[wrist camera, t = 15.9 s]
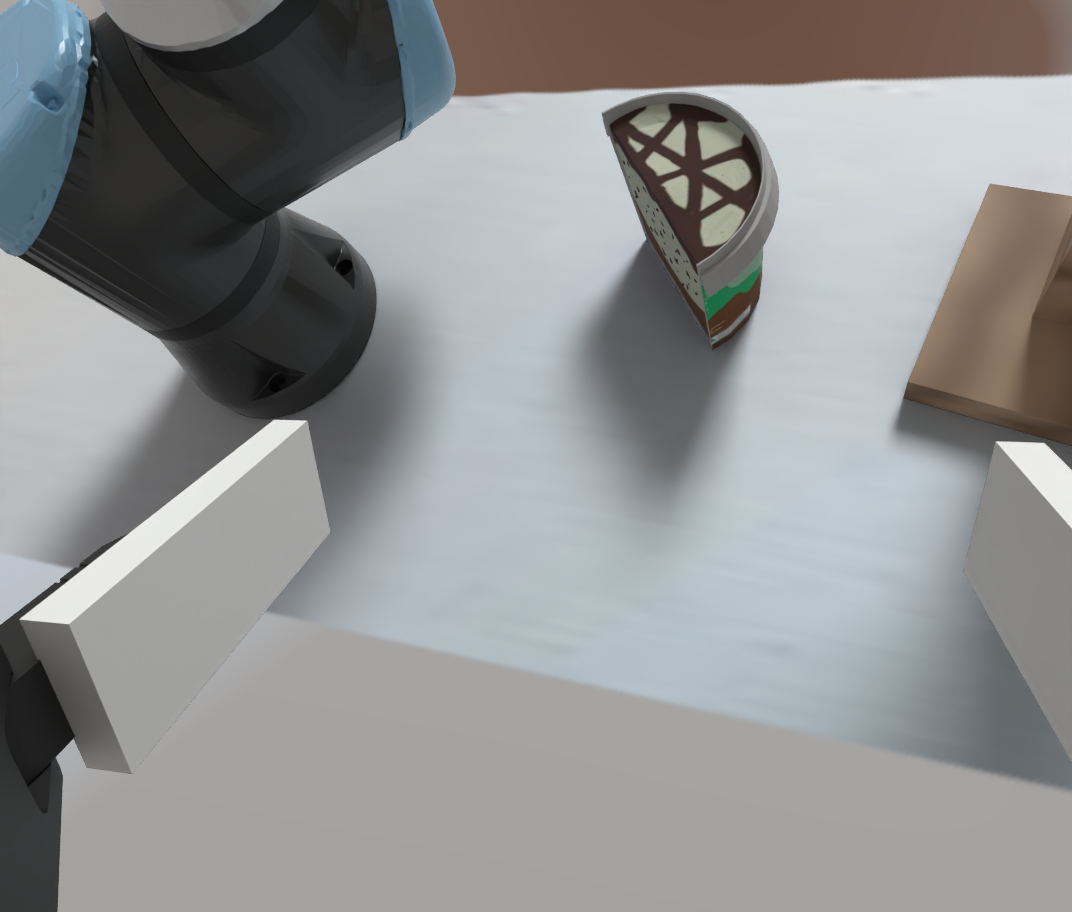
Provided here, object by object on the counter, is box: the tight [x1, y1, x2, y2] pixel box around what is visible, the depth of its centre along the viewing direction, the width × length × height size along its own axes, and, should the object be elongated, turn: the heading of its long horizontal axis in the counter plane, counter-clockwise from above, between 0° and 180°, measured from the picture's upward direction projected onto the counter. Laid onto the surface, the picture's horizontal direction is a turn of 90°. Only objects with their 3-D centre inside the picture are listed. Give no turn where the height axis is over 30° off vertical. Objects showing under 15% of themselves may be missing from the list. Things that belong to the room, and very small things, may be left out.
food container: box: [602, 92, 779, 349], centre depth 39 cm, size 12×6×10 cm, turn 21°
